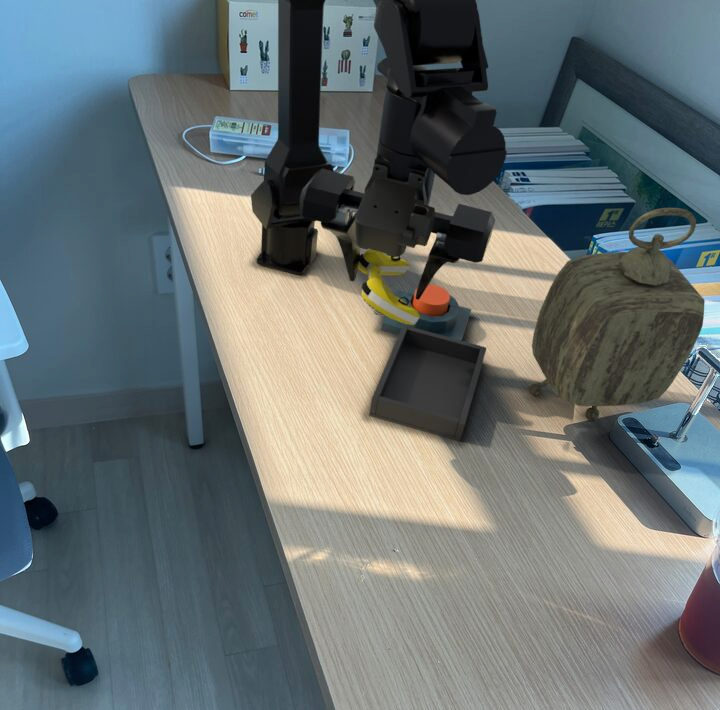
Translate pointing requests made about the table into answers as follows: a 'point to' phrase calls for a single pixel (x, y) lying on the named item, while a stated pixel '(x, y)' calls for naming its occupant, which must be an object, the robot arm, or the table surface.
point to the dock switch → (432, 319)
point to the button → (432, 301)
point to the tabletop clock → (618, 324)
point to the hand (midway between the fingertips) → (385, 288)
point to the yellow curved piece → (379, 292)
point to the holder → (428, 383)
